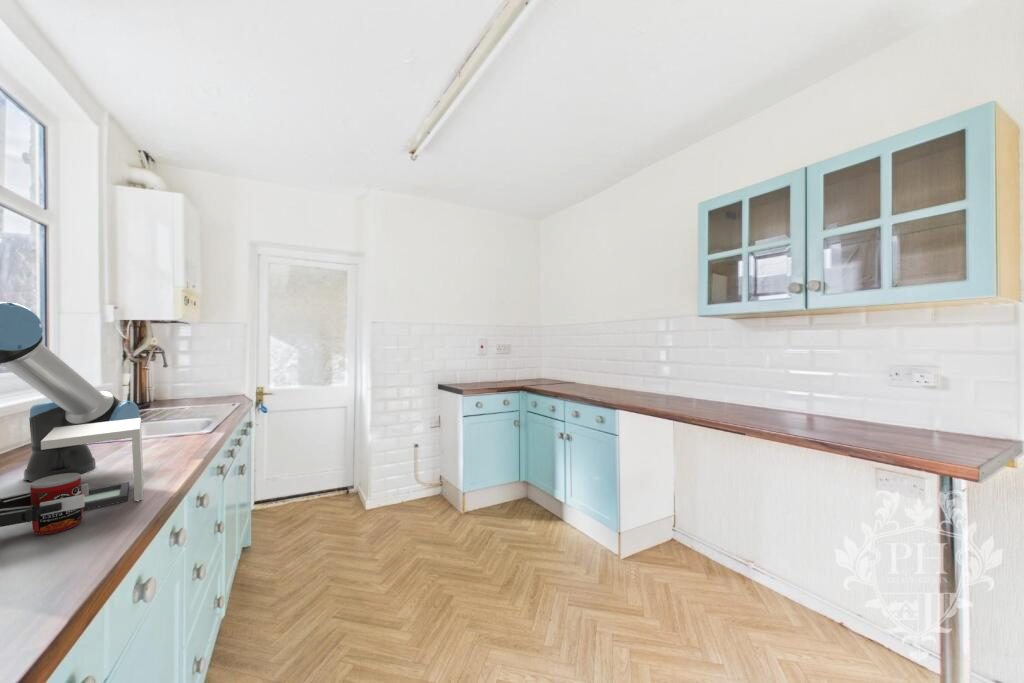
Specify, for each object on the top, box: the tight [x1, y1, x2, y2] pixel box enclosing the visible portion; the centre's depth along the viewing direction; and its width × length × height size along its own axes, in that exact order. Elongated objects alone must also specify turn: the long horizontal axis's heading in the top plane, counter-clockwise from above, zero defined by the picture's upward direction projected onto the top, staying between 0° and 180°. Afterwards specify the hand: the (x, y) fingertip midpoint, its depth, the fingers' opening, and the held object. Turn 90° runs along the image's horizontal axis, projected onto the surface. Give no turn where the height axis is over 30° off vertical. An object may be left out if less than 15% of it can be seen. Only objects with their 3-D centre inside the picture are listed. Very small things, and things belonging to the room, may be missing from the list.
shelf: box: [41, 417, 144, 502], centre depth 108 cm, size 17×18×19 cm
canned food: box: [29, 473, 83, 535], centre depth 92 cm, size 8×8×11 cm
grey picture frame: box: [82, 481, 130, 511], centre depth 107 cm, size 13×13×2 cm
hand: (86, 494), depth 95 cm, fingers closed on canned food, 8 cm apart
